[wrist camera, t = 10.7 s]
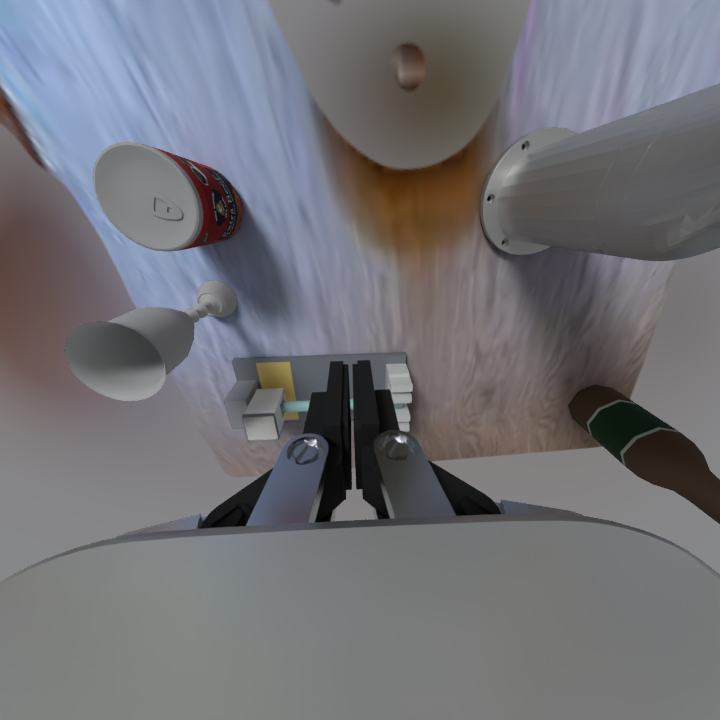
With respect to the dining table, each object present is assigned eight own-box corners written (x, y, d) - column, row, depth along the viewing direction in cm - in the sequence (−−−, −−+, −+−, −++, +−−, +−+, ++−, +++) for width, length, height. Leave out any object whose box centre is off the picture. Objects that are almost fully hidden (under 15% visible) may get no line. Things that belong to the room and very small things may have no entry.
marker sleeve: (284, 387, 41) (273, 415, 35) (288, 409, 43) (278, 439, 37) (256, 388, 41) (241, 417, 35) (261, 410, 42) (248, 440, 37)
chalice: (217, 332, 39) (125, 414, 23) (178, 293, 36) (43, 354, 20) (255, 305, 37) (185, 372, 21) (218, 261, 34) (105, 301, 18)
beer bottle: (571, 387, 46) (762, 536, 24) (618, 379, 45) (855, 524, 24) (562, 422, 49) (723, 578, 28) (606, 415, 49) (803, 568, 28)
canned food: (247, 244, 34) (206, 257, 24) (179, 237, 33) (109, 246, 23) (241, 170, 30) (190, 149, 20) (165, 160, 29) (75, 133, 20)
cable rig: (405, 352, 41) (414, 373, 36) (401, 414, 47) (408, 440, 41) (233, 358, 41) (215, 380, 35) (250, 420, 46) (237, 447, 41)
